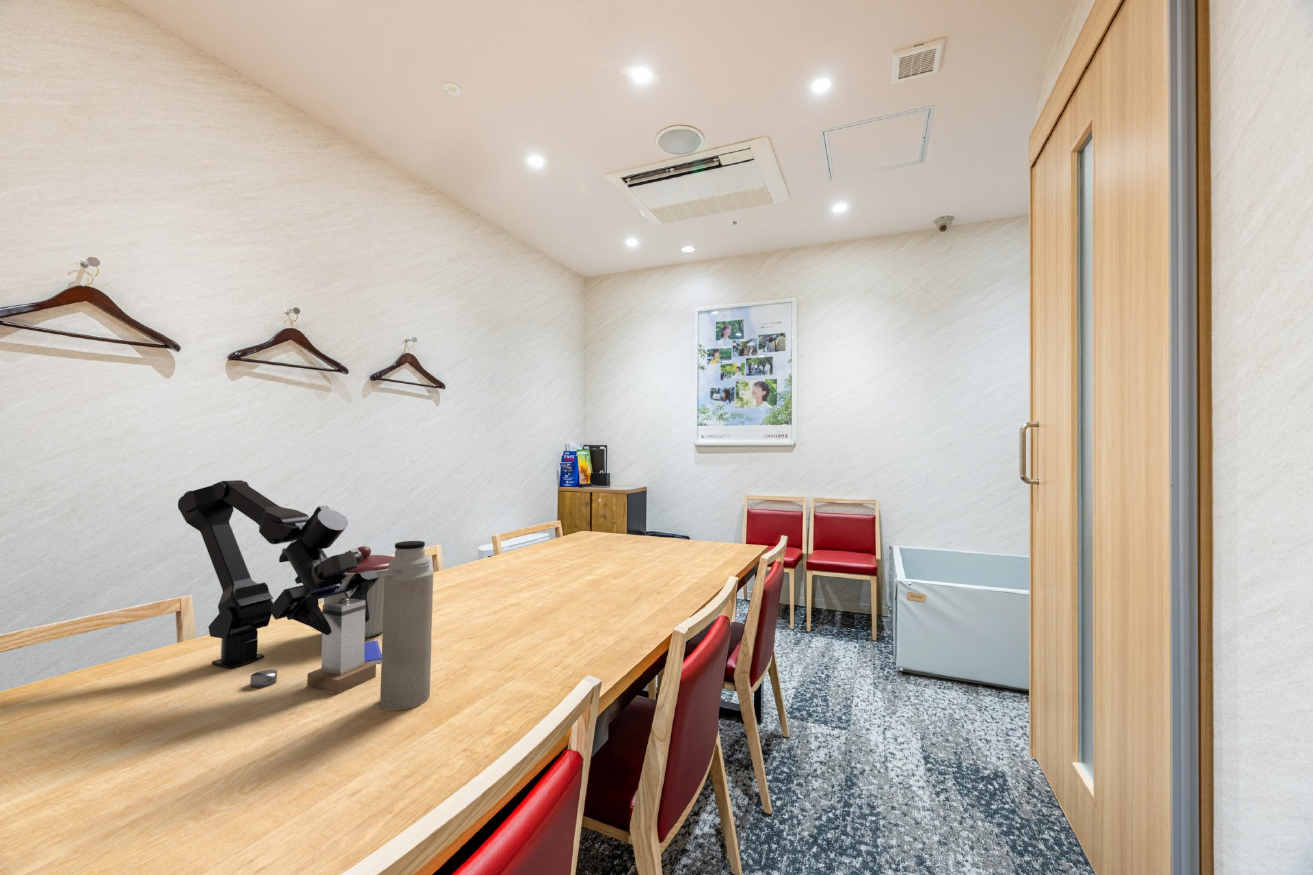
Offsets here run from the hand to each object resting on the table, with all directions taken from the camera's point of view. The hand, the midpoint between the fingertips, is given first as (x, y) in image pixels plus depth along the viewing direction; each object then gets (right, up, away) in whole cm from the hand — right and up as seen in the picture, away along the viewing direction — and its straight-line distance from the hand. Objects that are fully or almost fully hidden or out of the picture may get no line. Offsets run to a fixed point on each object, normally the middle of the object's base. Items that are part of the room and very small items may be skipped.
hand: (349, 626), depth 97 cm
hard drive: (-6, -12, +12) cm, 18 cm away
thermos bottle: (+14, -11, -7) cm, 19 cm away
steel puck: (-16, -10, -1) cm, 19 cm away
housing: (-1, -8, 0) cm, 8 cm away
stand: (-1, -10, 0) cm, 11 cm away
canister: (-14, -12, +27) cm, 32 cm away
